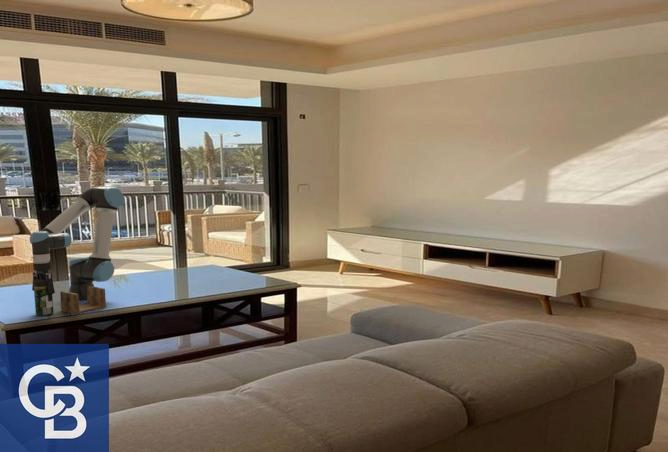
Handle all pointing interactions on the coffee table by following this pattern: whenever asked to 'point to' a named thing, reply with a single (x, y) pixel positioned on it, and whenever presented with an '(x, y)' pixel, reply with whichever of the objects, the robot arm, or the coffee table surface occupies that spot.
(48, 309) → the coffee jar
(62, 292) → the holder
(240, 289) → the coffee table surface
